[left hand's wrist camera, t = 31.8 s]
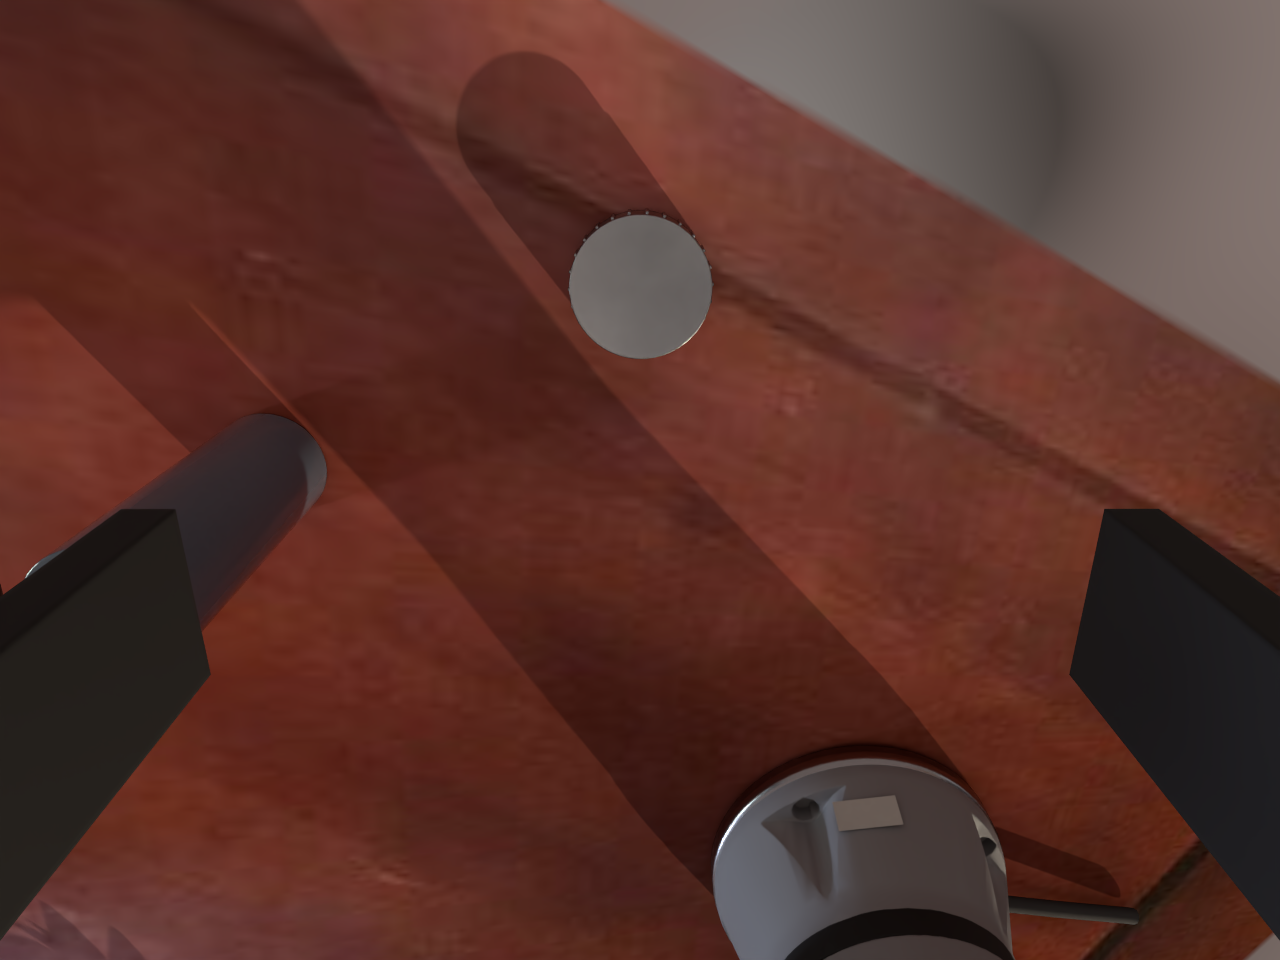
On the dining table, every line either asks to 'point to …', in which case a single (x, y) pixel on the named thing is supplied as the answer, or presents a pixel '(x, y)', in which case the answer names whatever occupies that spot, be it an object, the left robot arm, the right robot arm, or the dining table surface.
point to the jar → (232, 502)
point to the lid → (640, 284)
